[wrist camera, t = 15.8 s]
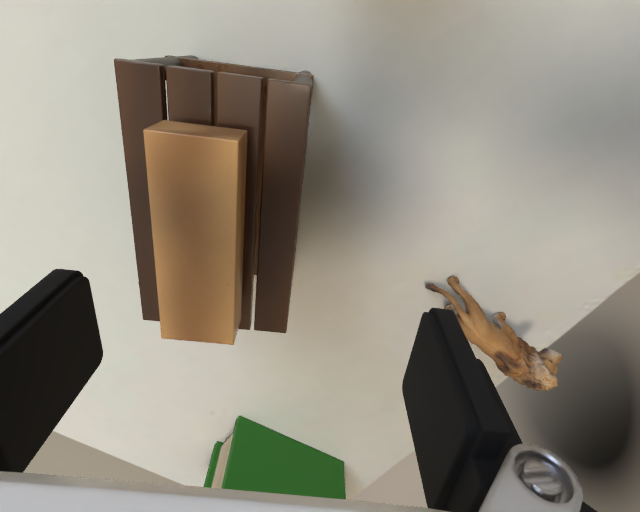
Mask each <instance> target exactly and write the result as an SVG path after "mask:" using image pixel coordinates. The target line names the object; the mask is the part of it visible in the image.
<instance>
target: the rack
mask: <svg viewBox="0 0 640 512" xmlns="http://www.w3.org/2000/svg"><path fill="white" fill-rule="evenodd" d="M114 65H115V74H116V82H117V91H118V100H119V109H120V118H121V127H122V136H123V145H124V154H125V163H126V171H127V180H128V189H129V198H130V207H131V216H132V225H133V234H134V243H135V252H136V260H137V269H138V278H139V287H140V296H141V305H142V314H143V320H152V321H160V315H159V304H158V292H157V281H156V269H155V258H154V246H153V235H152V223H151V212H150V201H149V189H148V178H147V166H146V155H145V143H144V132H143V130H144V129H146V128H148V127H150V126H152V125H154V124H156V123H158V122H161V121H163V120H167V105H166V88H165V80H167V98H168V115H169V121H176V122H184V123H192V124H200V125H208V126H216V127H224V128H232V129H240V130H246V131H247V158H246V188H245V217H244V247H243V277H242V307H241V321H240V324H239V328H238V329H246V330H250V327H251V320H252V299H253V279H254V275H257V283H256V302H255V321H254V330H259V331H269V332H280V333H286V331H287V321H288V312H289V304H290V295H291V286H292V278H293V269H294V260H295V252H296V240H297V230H298V221H299V211H300V202H301V192H302V182H303V173H304V163H305V153H306V144H307V134H308V125H309V115H310V105H311V96H312V86H313V75H312V74H311V73H310V72H308V71H302V72H300V73H296V72H288V71H281V70H273V69H266V68H258V67H251V66H243V65H236V64H228V63H221V62H214V61H206V60H199V59H198V58H197V57H195V56H178V57H176V56H165V57H164V58H150V59H136V60H127V59H114Z"/></svg>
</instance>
